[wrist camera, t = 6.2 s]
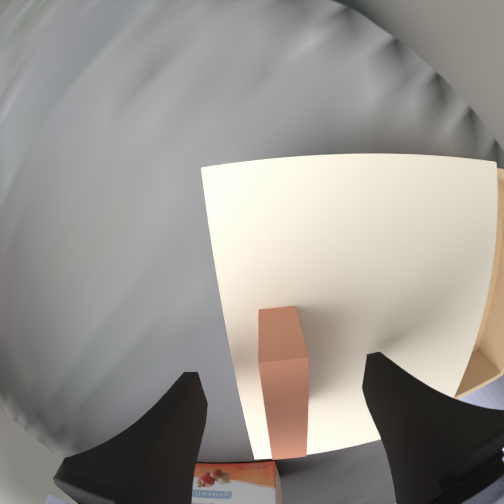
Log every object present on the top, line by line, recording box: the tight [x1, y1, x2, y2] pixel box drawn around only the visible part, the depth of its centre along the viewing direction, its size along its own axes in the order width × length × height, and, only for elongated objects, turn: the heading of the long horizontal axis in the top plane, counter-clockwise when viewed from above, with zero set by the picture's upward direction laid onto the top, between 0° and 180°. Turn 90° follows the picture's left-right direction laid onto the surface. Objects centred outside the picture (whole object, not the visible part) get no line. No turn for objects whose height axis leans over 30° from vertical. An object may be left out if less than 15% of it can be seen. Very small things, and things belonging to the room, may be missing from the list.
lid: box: [201, 154, 498, 460], centre depth 10 cm, size 18×14×4 cm
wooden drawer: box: [454, 168, 504, 399], centre depth 14 cm, size 17×14×5 cm
